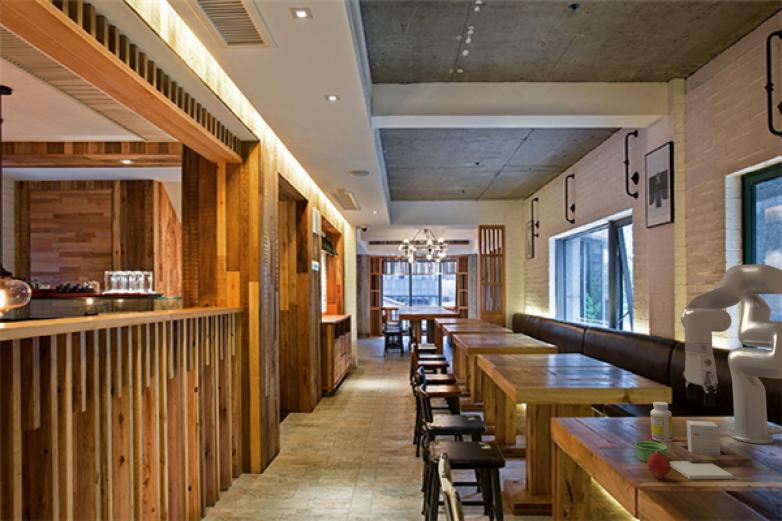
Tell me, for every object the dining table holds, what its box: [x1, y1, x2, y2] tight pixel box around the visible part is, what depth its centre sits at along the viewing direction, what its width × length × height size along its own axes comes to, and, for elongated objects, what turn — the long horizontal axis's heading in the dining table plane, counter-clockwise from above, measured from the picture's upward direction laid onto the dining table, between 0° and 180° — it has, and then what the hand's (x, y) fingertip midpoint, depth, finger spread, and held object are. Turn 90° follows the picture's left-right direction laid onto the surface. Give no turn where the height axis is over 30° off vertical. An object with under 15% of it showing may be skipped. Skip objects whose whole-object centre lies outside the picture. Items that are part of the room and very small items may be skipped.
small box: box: [686, 420, 721, 455], centre depth 164 cm, size 8×6×10 cm
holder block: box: [660, 441, 753, 467], centre depth 164 cm, size 18×18×2 cm
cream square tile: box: [669, 460, 734, 480], centre depth 151 cm, size 12×12×1 cm
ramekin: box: [634, 440, 667, 463], centre depth 162 cm, size 9×9×4 cm
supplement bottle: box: [650, 401, 674, 443], centre depth 182 cm, size 7×7×13 cm
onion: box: [646, 450, 672, 479], centre depth 146 cm, size 6×6×8 cm
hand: (700, 402), depth 164 cm, fingers open, 9 cm apart
